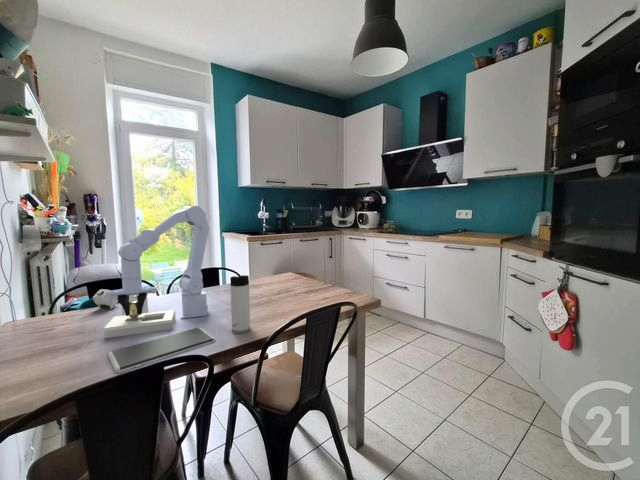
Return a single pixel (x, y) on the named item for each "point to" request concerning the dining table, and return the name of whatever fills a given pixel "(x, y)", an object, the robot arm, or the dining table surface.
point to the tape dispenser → (104, 299)
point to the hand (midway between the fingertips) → (134, 314)
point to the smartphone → (158, 349)
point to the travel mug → (240, 304)
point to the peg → (133, 310)
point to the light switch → (134, 298)
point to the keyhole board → (140, 324)
